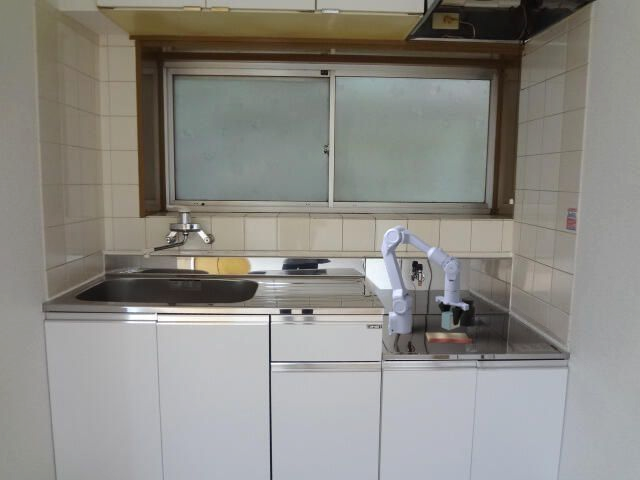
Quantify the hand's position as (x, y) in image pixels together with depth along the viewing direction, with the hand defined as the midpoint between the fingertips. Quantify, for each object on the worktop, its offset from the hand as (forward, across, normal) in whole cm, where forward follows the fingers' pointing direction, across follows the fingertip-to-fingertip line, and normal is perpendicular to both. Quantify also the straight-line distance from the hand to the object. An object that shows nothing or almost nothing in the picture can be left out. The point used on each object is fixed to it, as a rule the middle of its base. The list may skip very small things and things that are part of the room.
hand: (451, 323), depth 176 cm
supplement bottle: (+7, -6, +18) cm, 20 cm away
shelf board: (+7, -1, -1) cm, 7 cm away
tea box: (+2, 0, 0) cm, 2 cm away
